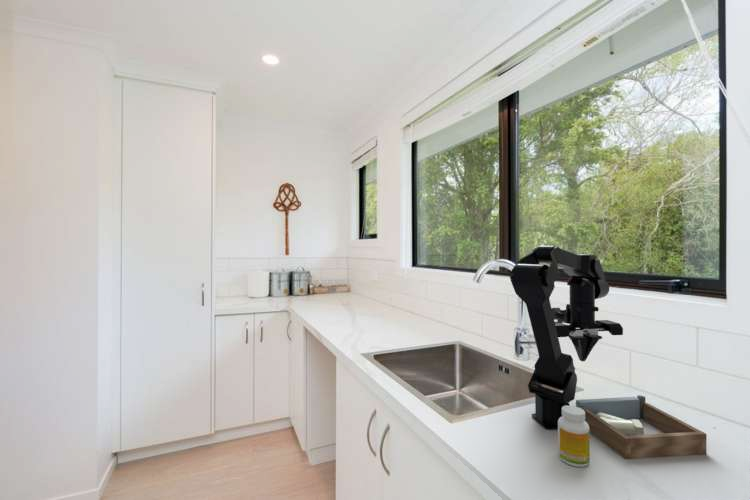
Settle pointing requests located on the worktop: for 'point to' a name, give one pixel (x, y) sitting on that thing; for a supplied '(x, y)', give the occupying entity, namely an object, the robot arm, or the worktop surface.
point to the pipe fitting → (623, 424)
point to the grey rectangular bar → (613, 406)
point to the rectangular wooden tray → (650, 435)
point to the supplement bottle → (573, 437)
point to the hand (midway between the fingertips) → (582, 360)
